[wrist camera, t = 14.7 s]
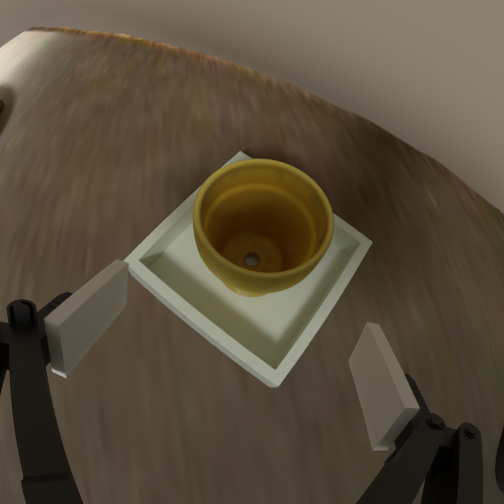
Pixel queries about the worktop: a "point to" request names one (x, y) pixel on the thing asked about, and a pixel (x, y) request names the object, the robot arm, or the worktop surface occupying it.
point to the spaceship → (1, 105)
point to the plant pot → (261, 225)
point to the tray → (240, 307)
